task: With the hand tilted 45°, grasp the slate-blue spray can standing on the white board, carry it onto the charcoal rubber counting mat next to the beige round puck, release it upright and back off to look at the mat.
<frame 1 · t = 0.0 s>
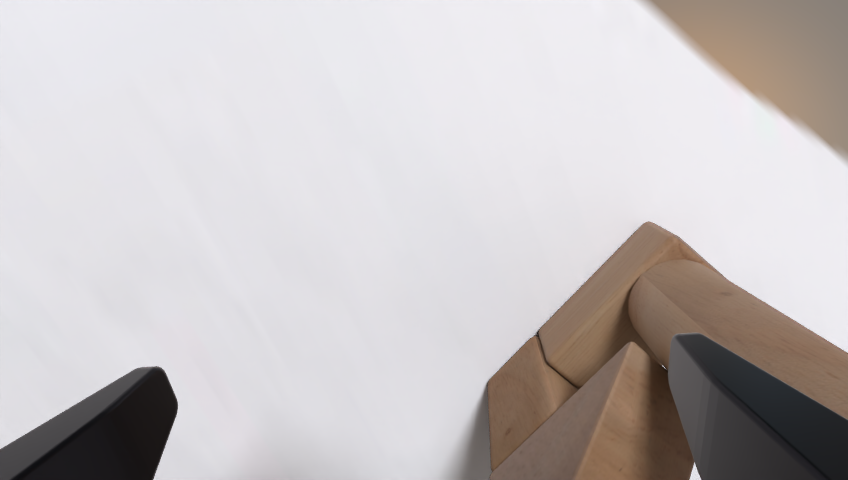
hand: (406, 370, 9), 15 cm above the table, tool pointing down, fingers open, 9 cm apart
wooden block: (589, 326, 25), on the table
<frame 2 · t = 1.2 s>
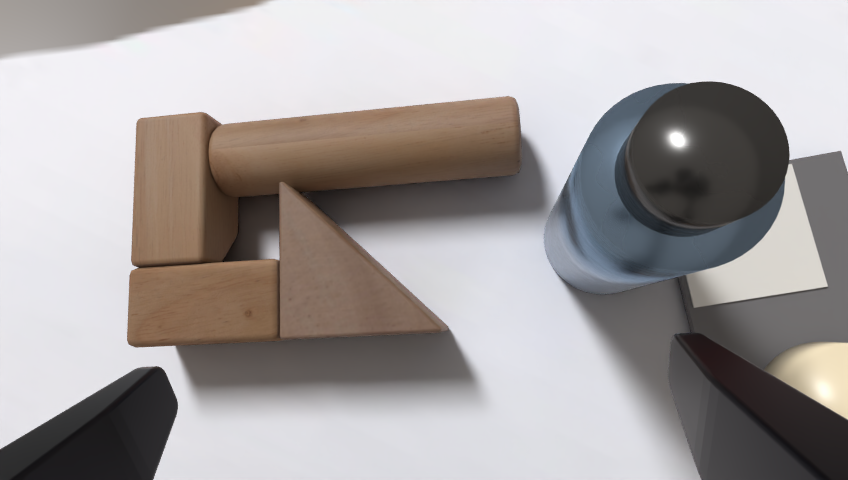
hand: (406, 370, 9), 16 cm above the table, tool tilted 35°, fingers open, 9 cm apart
wooden block: (149, 234, 26), point 2 cm above the table
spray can: (600, 239, 25), on the table
beige round puck: (829, 414, 22), resting on counting mat
counting mat: (785, 321, 23), on the table
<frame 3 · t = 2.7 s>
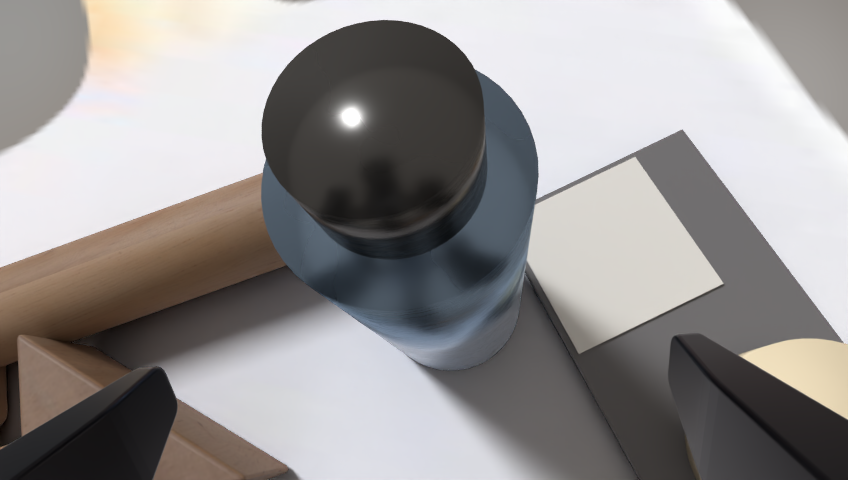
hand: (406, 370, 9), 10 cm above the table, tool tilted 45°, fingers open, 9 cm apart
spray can: (450, 300, 20), on the table
beige round puck: (785, 446, 17), resting on counting mat
counting mat: (692, 339, 18), on the table
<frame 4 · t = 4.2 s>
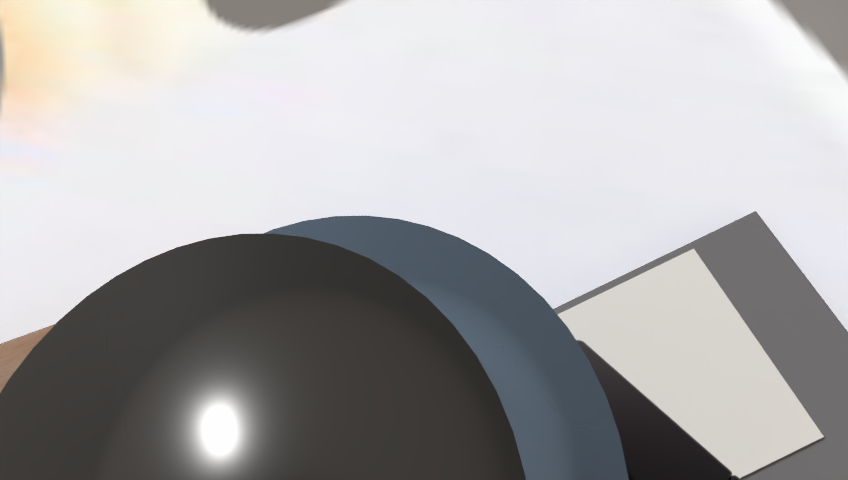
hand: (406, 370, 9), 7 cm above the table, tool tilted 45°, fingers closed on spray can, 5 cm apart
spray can: (447, 441, 15), on the table, touching gripper
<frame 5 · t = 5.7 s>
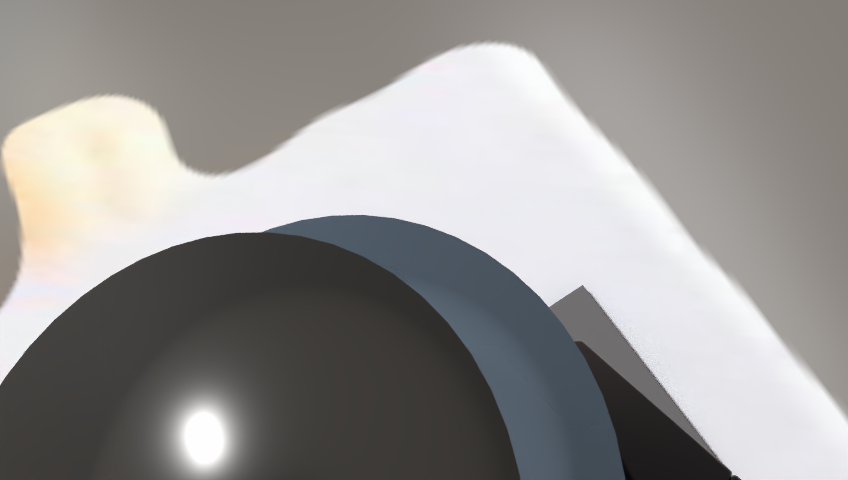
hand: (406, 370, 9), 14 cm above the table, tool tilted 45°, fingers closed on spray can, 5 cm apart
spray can: (446, 441, 15), point 7 cm above the table, touching gripper
when the fingers open (8 cm above the table, at t = 7.2 s): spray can drops 1 cm, resting on counting mat.
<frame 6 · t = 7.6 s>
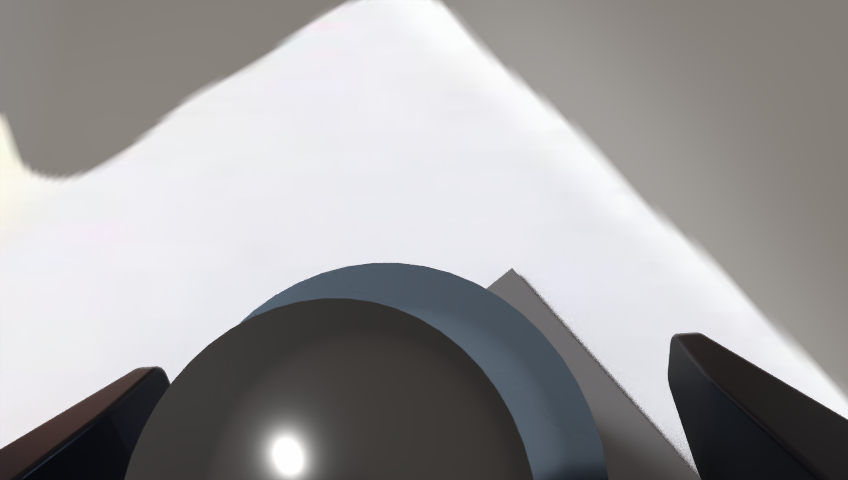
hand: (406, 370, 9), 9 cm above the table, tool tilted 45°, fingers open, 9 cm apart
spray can: (450, 442, 16), point 1 cm above the table, touching counting mat
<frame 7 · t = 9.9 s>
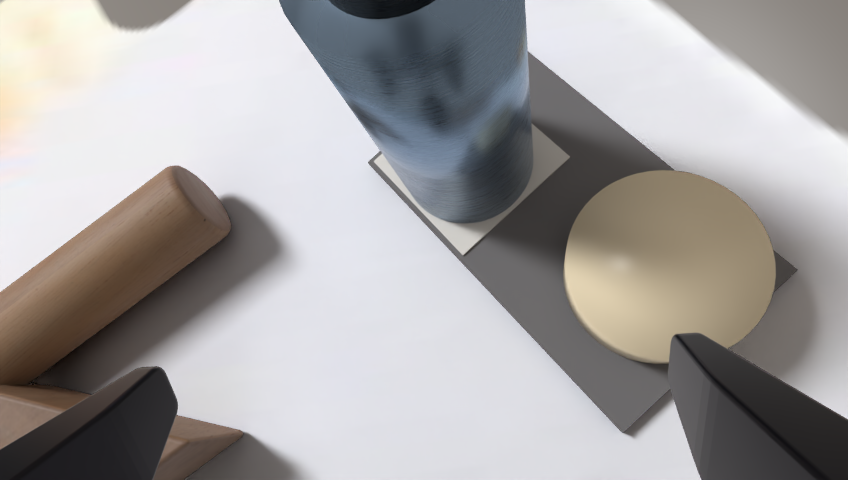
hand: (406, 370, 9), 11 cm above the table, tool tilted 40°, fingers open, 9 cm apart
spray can: (467, 161, 21), point 1 cm above the table, touching counting mat
beige round puck: (651, 276, 19), resting on counting mat
counting mat: (558, 213, 20), on the table
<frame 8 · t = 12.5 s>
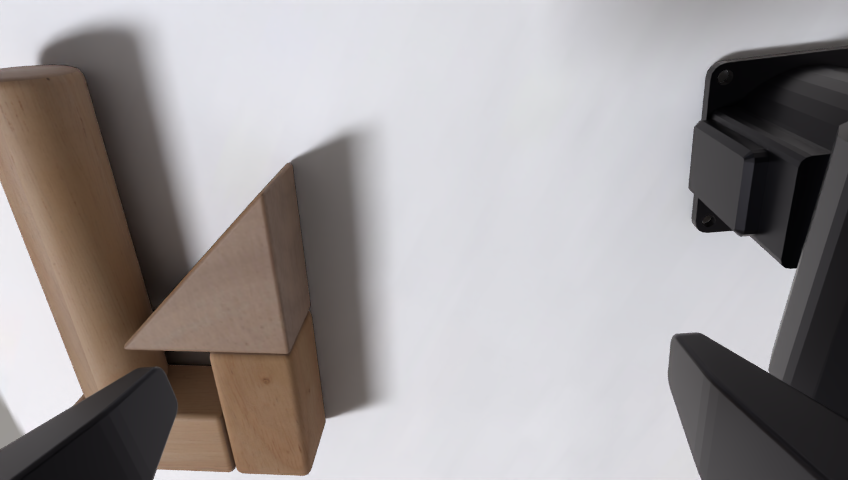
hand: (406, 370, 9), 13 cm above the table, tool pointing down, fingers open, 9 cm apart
wooden block: (214, 447, 27), point 2 cm above the table
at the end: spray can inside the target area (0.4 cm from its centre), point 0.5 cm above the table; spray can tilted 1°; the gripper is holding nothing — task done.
